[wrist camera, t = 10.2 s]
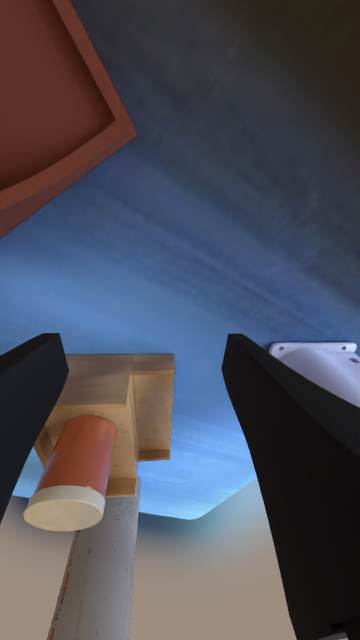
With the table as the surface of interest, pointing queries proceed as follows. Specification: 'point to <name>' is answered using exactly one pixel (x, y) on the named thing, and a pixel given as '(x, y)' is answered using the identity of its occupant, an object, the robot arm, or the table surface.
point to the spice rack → (118, 409)
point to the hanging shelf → (51, 107)
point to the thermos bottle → (100, 576)
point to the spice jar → (74, 477)
